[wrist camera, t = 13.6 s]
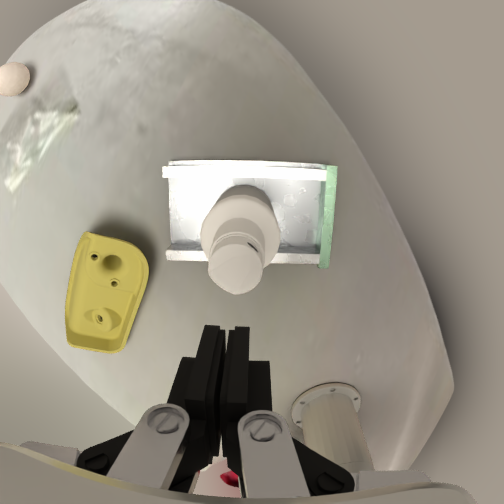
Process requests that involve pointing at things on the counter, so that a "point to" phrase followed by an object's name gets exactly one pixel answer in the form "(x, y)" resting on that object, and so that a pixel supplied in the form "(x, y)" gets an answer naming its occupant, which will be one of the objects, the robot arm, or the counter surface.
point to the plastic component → (104, 292)
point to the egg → (13, 78)
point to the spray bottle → (240, 238)
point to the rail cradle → (277, 190)
